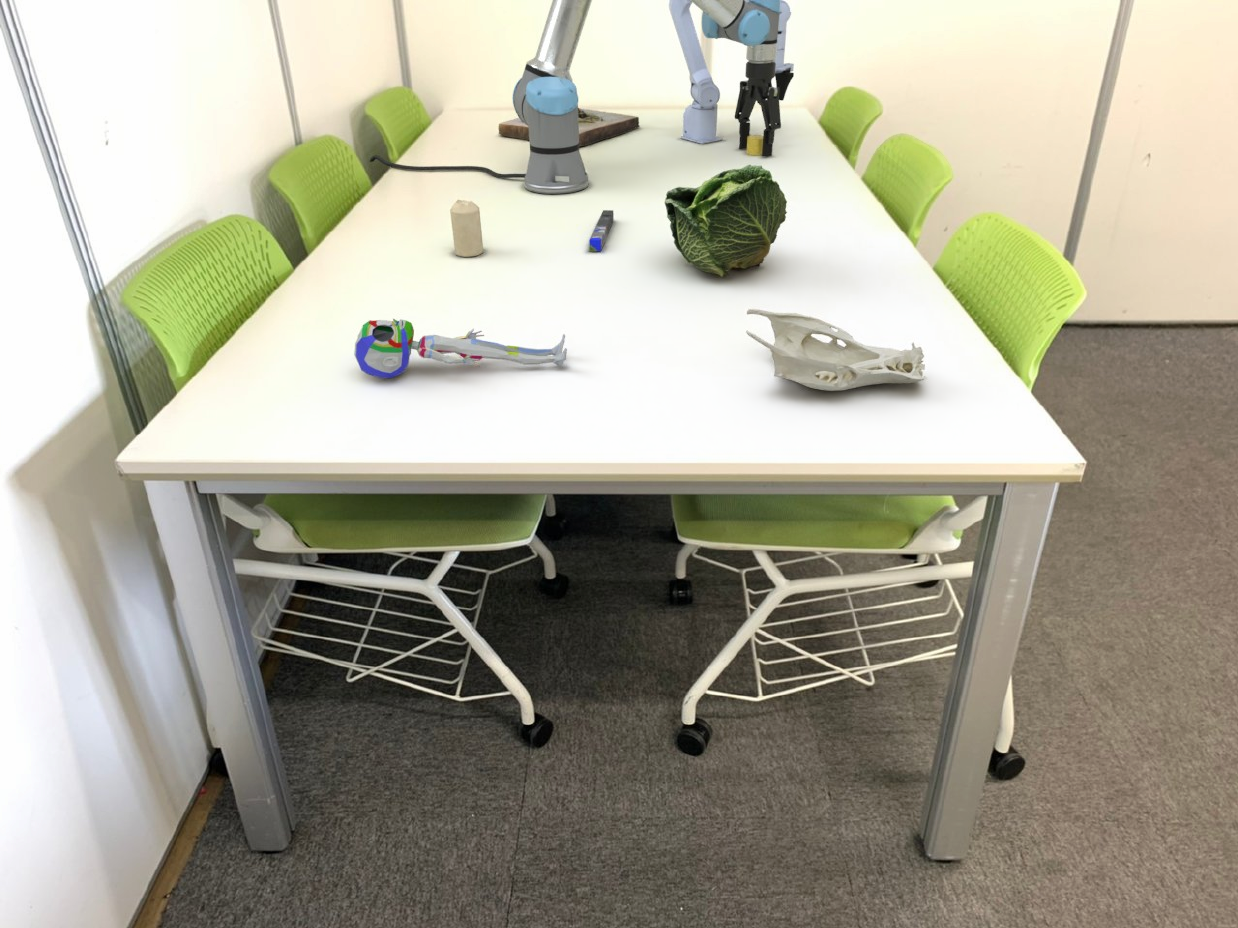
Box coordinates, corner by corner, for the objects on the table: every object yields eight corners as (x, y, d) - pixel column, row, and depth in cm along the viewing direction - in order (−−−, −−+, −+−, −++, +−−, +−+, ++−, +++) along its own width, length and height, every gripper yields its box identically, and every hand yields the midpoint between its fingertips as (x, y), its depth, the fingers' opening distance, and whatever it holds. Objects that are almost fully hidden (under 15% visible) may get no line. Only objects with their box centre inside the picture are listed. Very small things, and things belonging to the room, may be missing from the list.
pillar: (613, 210, 190) (600, 241, 173) (613, 220, 191) (600, 251, 174) (603, 210, 190) (589, 240, 173) (603, 220, 191) (589, 251, 174)
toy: (569, 347, 126) (349, 329, 122) (563, 400, 131) (350, 385, 126) (565, 318, 135) (359, 301, 130) (559, 369, 139) (360, 354, 134)
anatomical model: (747, 299, 130) (925, 301, 126) (745, 356, 135) (916, 360, 131) (744, 342, 118) (940, 346, 114) (742, 403, 123) (930, 410, 119)
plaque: (578, 121, 243) (496, 109, 258) (578, 149, 246) (497, 135, 261) (641, 104, 264) (562, 94, 278) (641, 129, 267) (563, 118, 282)
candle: (488, 249, 176) (483, 198, 171) (475, 258, 172) (470, 206, 167) (463, 246, 178) (457, 196, 173) (450, 255, 174) (443, 204, 168)
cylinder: (754, 156, 237) (755, 139, 235) (742, 152, 240) (743, 136, 238) (768, 153, 239) (769, 137, 237) (756, 150, 243) (757, 134, 240)
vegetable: (694, 294, 173) (643, 202, 166) (775, 239, 175) (728, 145, 167) (734, 307, 155) (678, 205, 147) (824, 245, 156) (773, 141, 149)
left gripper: (800, 65, 221) (792, 158, 233) (746, 54, 237) (741, 142, 249) (776, 68, 218) (769, 162, 230) (723, 57, 234) (719, 145, 246)
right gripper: (766, 53, 237) (762, 107, 245) (803, 47, 245) (798, 100, 252) (747, 50, 242) (744, 103, 249) (784, 45, 249) (780, 97, 257)
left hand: (755, 152), depth 240 cm, fingers open, 9 cm apart
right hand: (770, 101), depth 251 cm, fingers open, 7 cm apart
